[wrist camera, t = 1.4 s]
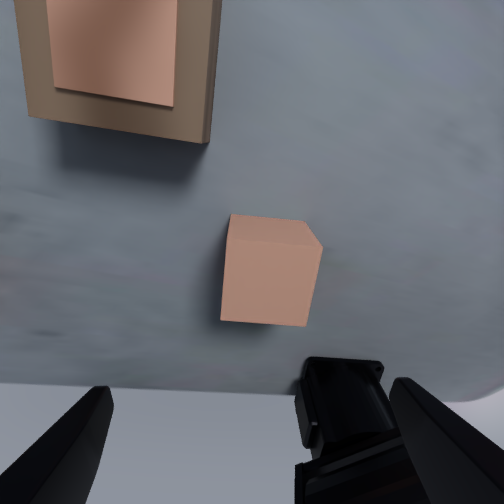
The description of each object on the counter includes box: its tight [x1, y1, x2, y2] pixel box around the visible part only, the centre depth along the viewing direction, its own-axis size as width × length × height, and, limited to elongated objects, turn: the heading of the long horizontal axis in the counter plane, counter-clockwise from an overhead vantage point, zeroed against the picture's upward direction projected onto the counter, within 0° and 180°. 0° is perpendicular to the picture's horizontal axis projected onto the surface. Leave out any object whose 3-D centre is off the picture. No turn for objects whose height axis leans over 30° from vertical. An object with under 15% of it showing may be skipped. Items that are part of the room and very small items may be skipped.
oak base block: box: [14, 0, 222, 144], centre depth 14 cm, size 8×8×4 cm
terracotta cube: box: [220, 214, 323, 327], centre depth 18 cm, size 5×5×5 cm
